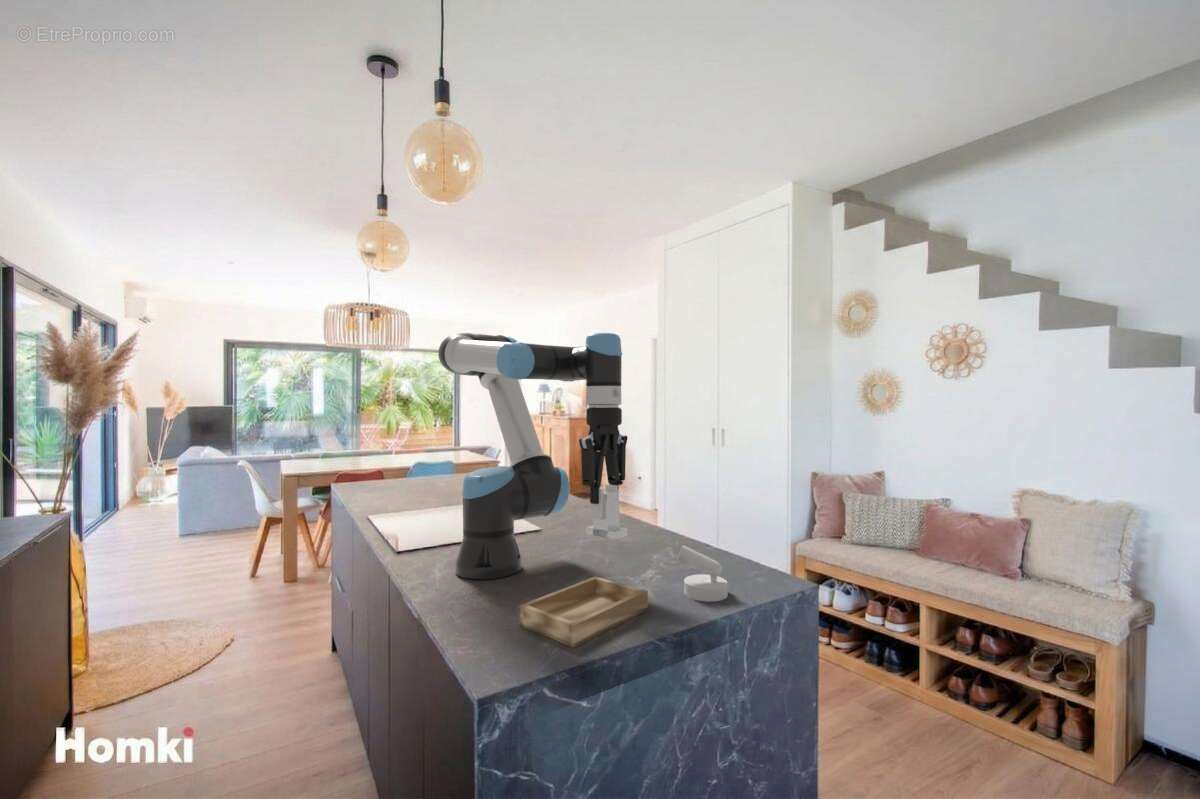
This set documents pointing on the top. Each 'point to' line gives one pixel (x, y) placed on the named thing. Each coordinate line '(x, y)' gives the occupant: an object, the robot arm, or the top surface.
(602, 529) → the frosted glass pillar
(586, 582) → the wooden tray
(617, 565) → the top surface
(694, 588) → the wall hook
